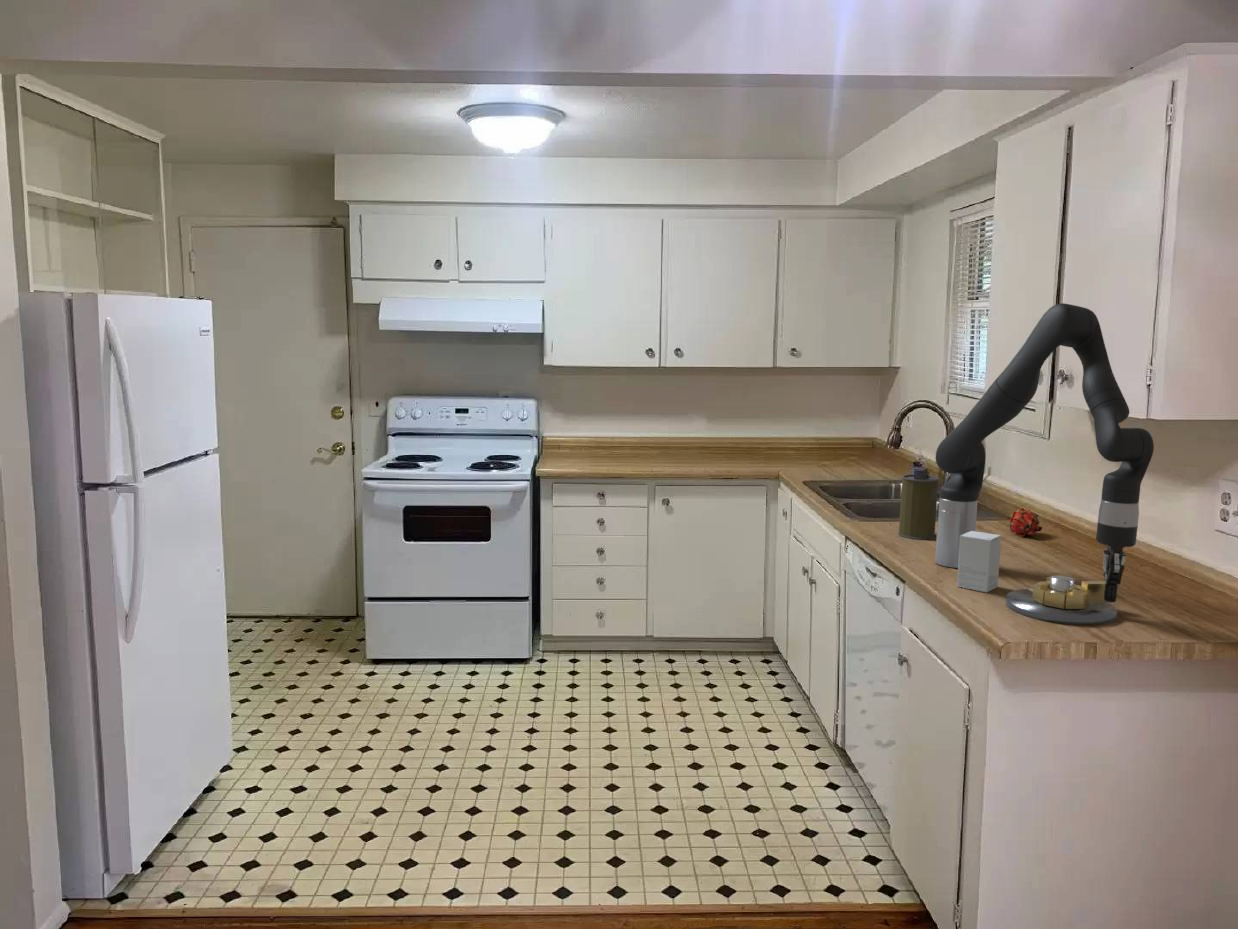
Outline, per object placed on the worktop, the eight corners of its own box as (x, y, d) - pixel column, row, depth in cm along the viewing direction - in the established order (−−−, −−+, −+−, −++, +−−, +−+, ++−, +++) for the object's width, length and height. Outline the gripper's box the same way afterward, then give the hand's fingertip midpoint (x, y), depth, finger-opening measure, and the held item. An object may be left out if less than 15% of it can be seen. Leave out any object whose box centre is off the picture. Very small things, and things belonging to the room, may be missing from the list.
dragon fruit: (1021, 535, 285) (1028, 550, 274) (998, 518, 285) (1005, 532, 274) (1041, 515, 282) (1049, 529, 271) (1019, 498, 282) (1026, 511, 271)
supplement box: (998, 587, 222) (1002, 535, 220) (986, 593, 216) (991, 540, 214) (967, 581, 227) (971, 529, 225) (955, 587, 221) (959, 534, 219)
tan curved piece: (1050, 609, 199) (1052, 589, 198) (1024, 594, 209) (1026, 576, 209) (1124, 608, 200) (1125, 589, 200) (1094, 594, 211) (1096, 575, 210)
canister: (930, 541, 268) (935, 472, 265) (893, 536, 274) (898, 468, 271) (939, 534, 277) (943, 467, 274) (903, 529, 283) (907, 464, 280)
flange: (987, 595, 215) (989, 565, 214) (1078, 594, 217) (1081, 565, 216) (1038, 626, 193) (1041, 593, 192) (1139, 624, 195) (1142, 592, 194)
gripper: (1142, 529, 191) (1133, 611, 194) (1133, 517, 203) (1125, 595, 206) (1101, 526, 194) (1093, 607, 196) (1094, 514, 206) (1087, 590, 208)
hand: (1109, 600), depth 201 cm, fingers closed
